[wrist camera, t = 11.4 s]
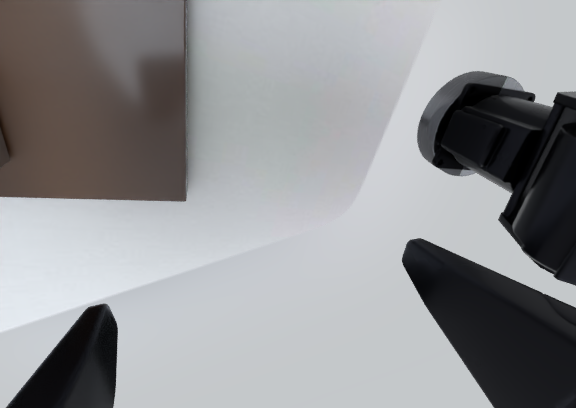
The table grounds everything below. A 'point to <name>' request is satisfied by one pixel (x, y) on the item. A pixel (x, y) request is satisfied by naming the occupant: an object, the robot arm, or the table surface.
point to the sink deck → (94, 99)
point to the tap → (3, 151)
